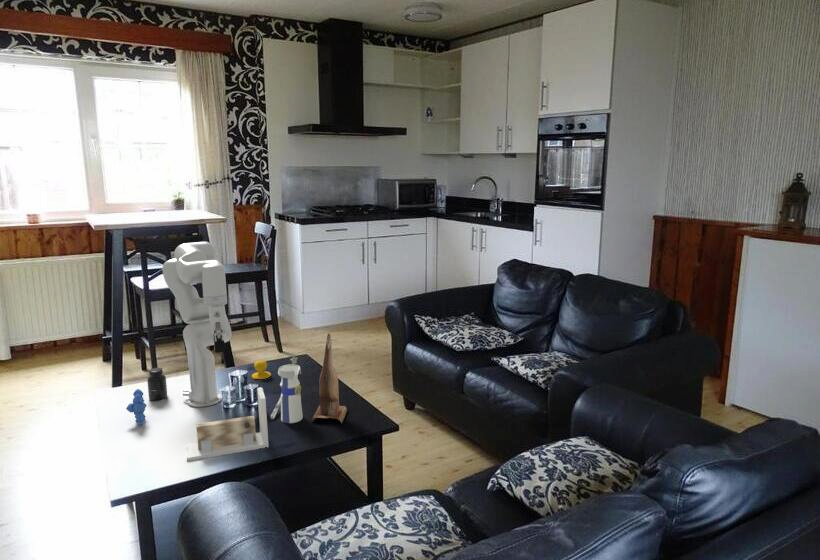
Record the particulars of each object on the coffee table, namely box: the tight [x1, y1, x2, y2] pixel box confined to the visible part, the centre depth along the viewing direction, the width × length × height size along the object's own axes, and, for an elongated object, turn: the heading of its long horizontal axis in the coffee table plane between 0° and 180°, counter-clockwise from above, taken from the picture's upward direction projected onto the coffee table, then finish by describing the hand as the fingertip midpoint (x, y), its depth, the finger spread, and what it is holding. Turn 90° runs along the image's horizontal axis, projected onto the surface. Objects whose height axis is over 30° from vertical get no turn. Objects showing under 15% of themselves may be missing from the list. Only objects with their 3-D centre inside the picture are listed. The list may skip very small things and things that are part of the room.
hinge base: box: [186, 386, 270, 461], centre depth 190 cm, size 25×10×17 cm, turn 110°
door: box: [195, 415, 257, 450], centre depth 191 cm, size 18×3×8 cm, turn 110°
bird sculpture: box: [311, 332, 348, 424], centre depth 210 cm, size 11×12×32 cm
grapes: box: [125, 388, 147, 425], centre depth 210 cm, size 12×7×12 cm, turn 24°
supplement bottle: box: [146, 367, 168, 402], centre depth 232 cm, size 7×7×12 cm
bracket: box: [270, 396, 281, 420], centre depth 223 cm, size 3×21×10 cm, turn 173°
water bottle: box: [277, 355, 303, 424], centre depth 210 cm, size 8×9×25 cm
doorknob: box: [251, 359, 272, 380], centre depth 254 cm, size 8×8×8 cm
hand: (219, 347), depth 203 cm, fingers open, 9 cm apart
